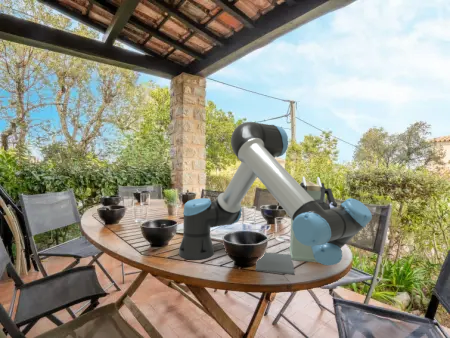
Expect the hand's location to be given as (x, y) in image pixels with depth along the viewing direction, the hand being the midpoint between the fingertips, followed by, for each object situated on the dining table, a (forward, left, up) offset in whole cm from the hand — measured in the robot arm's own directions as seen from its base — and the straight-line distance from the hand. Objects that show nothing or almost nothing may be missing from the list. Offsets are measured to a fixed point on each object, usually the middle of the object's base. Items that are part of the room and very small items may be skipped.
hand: (310, 179), depth 99 cm
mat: (-14, -4, -34) cm, 36 cm away
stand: (0, +7, -34) cm, 34 cm away
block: (0, +2, -4) cm, 4 cm away
